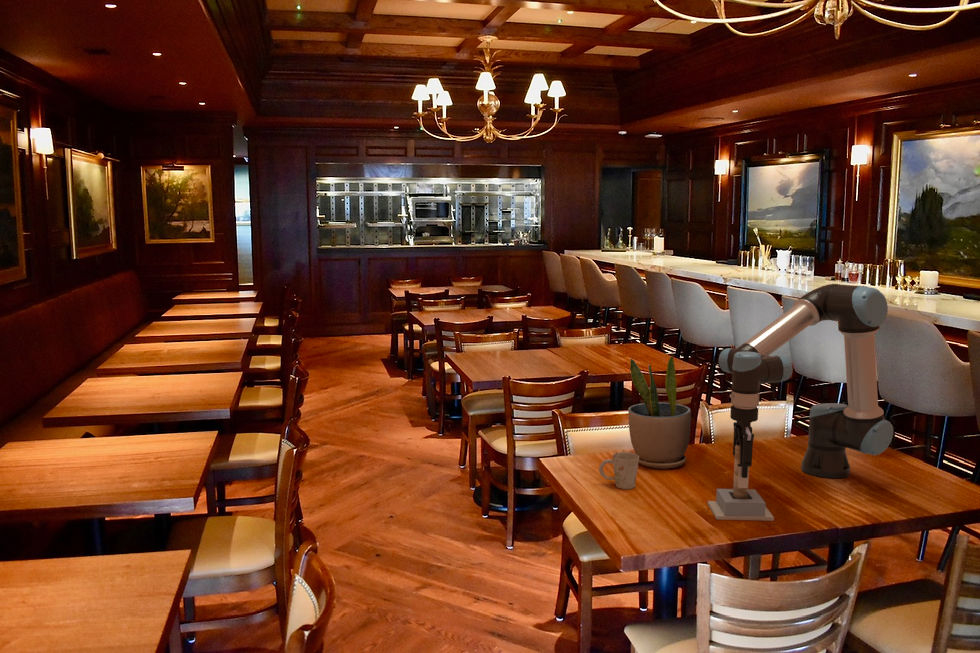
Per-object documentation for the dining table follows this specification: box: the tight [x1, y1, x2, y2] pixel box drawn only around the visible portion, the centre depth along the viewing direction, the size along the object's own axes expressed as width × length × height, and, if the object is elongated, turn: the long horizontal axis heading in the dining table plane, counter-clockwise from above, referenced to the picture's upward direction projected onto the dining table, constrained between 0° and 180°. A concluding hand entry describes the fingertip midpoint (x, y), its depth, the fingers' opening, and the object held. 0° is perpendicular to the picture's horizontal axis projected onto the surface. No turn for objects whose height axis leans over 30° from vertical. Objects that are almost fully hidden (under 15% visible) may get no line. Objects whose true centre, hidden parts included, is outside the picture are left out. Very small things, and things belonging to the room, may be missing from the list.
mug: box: [598, 451, 639, 490], centre depth 253 cm, size 8×13×10 cm, turn 78°
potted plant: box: [627, 354, 692, 470], centre depth 274 cm, size 21×22×40 cm
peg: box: [732, 445, 749, 499], centre depth 229 cm, size 4×4×16 cm
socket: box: [707, 488, 775, 522], centre depth 231 cm, size 16×12×5 cm
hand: (740, 484), depth 230 cm, fingers closed on peg, 4 cm apart
